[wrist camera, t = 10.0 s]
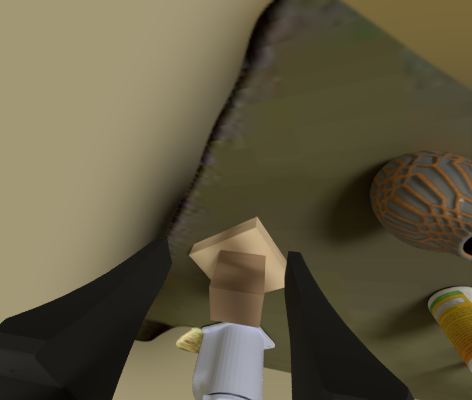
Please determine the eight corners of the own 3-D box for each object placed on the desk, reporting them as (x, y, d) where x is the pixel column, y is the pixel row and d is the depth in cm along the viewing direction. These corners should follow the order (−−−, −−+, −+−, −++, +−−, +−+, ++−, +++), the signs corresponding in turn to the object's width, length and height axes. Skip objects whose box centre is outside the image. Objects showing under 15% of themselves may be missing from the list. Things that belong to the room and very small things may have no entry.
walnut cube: (220, 280, 26) (210, 319, 22) (220, 249, 24) (209, 287, 20) (261, 286, 26) (259, 328, 22) (265, 255, 23) (263, 295, 19)
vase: (417, 219, 21) (499, 299, 13) (346, 203, 21) (387, 273, 14) (468, 151, 17) (619, 206, 10) (382, 133, 18) (465, 173, 10)
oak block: (233, 286, 30) (230, 302, 28) (195, 241, 27) (188, 255, 25) (293, 268, 27) (294, 284, 25) (257, 214, 24) (255, 227, 22)
